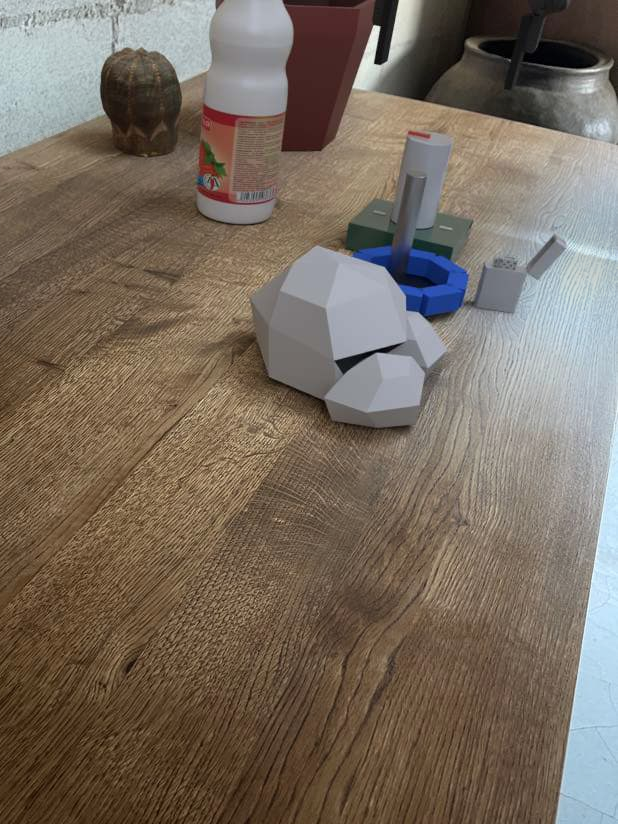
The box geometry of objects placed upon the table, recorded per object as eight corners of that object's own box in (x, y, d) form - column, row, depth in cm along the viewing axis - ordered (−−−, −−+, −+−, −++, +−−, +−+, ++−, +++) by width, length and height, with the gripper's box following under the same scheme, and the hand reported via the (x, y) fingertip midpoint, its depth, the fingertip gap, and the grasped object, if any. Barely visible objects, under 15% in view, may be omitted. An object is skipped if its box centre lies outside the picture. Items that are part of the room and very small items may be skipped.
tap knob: (438, 219, 106) (459, 134, 100) (428, 232, 102) (448, 145, 96) (397, 209, 107) (414, 125, 101) (385, 222, 103) (402, 135, 97)
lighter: (474, 307, 95) (495, 231, 90) (473, 300, 96) (494, 224, 91) (544, 317, 94) (569, 241, 89) (542, 310, 96) (567, 234, 90)
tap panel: (466, 245, 108) (473, 218, 106) (447, 273, 101) (454, 245, 99) (369, 222, 112) (374, 196, 110) (344, 248, 104) (348, 221, 102)
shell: (104, 131, 132) (105, 38, 124) (181, 138, 132) (186, 46, 124) (95, 155, 123) (94, 56, 116) (176, 162, 123) (181, 64, 116)
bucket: (286, 106, 150) (308, -76, 134) (391, 144, 138) (429, -52, 123) (172, 126, 136) (182, -75, 121) (278, 169, 125) (304, -48, 109)
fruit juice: (266, 231, 107) (300, -54, 89) (187, 218, 108) (205, -65, 90) (278, 204, 114) (312, -63, 96) (204, 193, 115) (224, -74, 97)
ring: (467, 278, 98) (472, 260, 97) (457, 324, 89) (462, 304, 88) (357, 256, 100) (360, 239, 99) (336, 299, 91) (339, 280, 90)
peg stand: (444, 286, 98) (473, 171, 91) (423, 317, 92) (452, 196, 84) (364, 266, 101) (385, 152, 93) (338, 295, 94) (359, 176, 87)
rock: (442, 344, 88) (468, 245, 81) (439, 456, 72) (471, 345, 66) (255, 312, 90) (266, 214, 83) (213, 416, 74) (223, 305, 68)
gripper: (356, -204, 82) (318, 58, 95) (645, -173, 75) (561, 105, 88) (379, -201, 87) (340, 47, 101) (651, -171, 80) (571, 90, 94)
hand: (443, 75), depth 95 cm, fingers open, 13 cm apart
